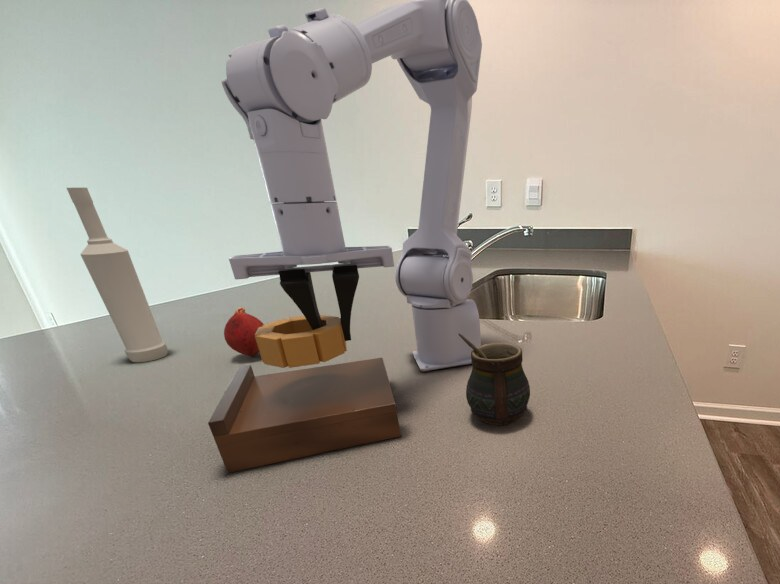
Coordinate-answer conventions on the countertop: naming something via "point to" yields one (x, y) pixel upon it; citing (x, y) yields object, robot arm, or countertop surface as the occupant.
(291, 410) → the shelf
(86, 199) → the bottle
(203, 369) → the countertop surface
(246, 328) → the red pomegranate
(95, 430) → the countertop surface
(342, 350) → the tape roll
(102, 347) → the countertop surface
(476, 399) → the mate gourd
